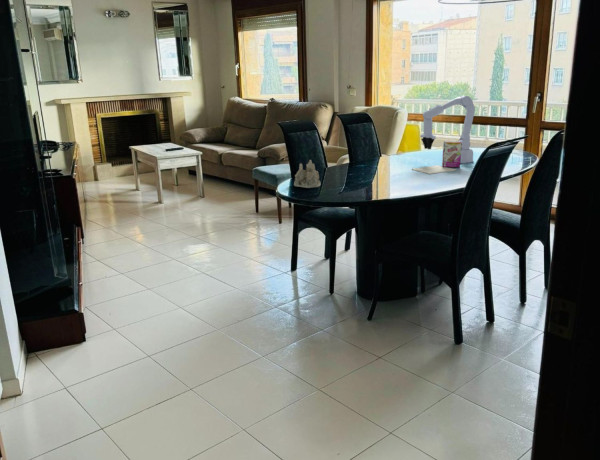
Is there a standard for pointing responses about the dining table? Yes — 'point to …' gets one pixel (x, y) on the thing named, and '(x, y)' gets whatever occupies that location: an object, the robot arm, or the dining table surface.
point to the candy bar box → (451, 154)
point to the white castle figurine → (307, 176)
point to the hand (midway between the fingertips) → (427, 148)
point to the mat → (433, 169)
